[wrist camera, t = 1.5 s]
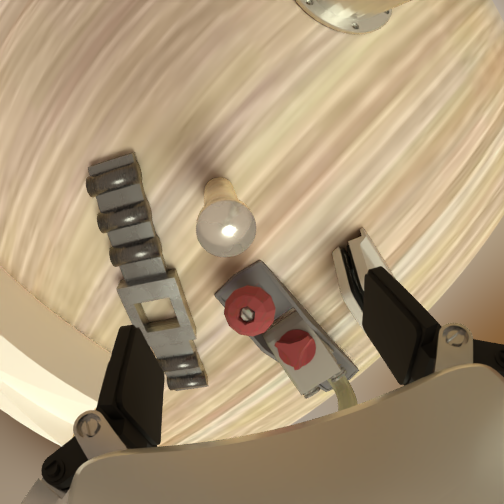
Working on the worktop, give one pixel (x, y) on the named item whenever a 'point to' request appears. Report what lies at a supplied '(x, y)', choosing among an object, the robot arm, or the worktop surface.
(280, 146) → the worktop surface
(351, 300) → the beige arched grooved block
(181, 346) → the knobbed grey strip
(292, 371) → the hand plane
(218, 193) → the pin
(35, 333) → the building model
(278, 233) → the worktop surface
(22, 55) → the worktop surface
